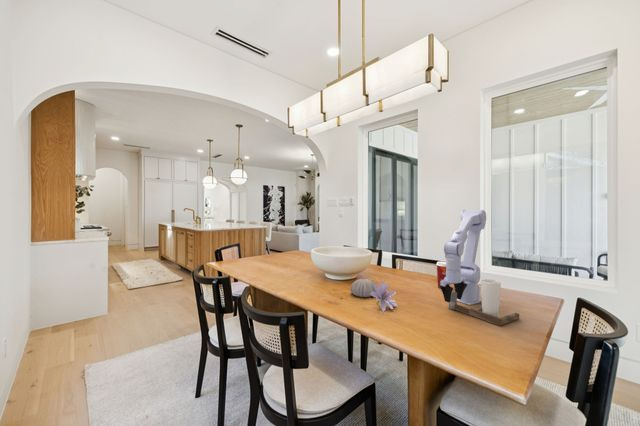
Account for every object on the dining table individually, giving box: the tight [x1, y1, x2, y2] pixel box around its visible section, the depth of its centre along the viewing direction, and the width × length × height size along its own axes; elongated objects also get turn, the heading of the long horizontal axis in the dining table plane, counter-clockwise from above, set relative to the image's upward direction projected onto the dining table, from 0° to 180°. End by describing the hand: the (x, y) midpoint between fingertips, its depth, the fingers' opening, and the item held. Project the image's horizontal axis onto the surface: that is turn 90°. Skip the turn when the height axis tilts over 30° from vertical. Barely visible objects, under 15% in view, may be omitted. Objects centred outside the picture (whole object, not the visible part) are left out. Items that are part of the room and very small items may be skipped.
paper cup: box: [436, 261, 446, 290], centre depth 151 cm, size 8×8×14 cm
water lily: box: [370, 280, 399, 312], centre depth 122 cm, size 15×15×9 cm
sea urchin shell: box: [349, 278, 377, 298], centre depth 138 cm, size 13×14×8 cm
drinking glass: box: [480, 278, 502, 318], centre depth 108 cm, size 7×7×15 cm
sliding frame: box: [448, 290, 520, 327], centre depth 114 cm, size 15×22×7 cm
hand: (453, 300), depth 119 cm, fingers open, 7 cm apart
